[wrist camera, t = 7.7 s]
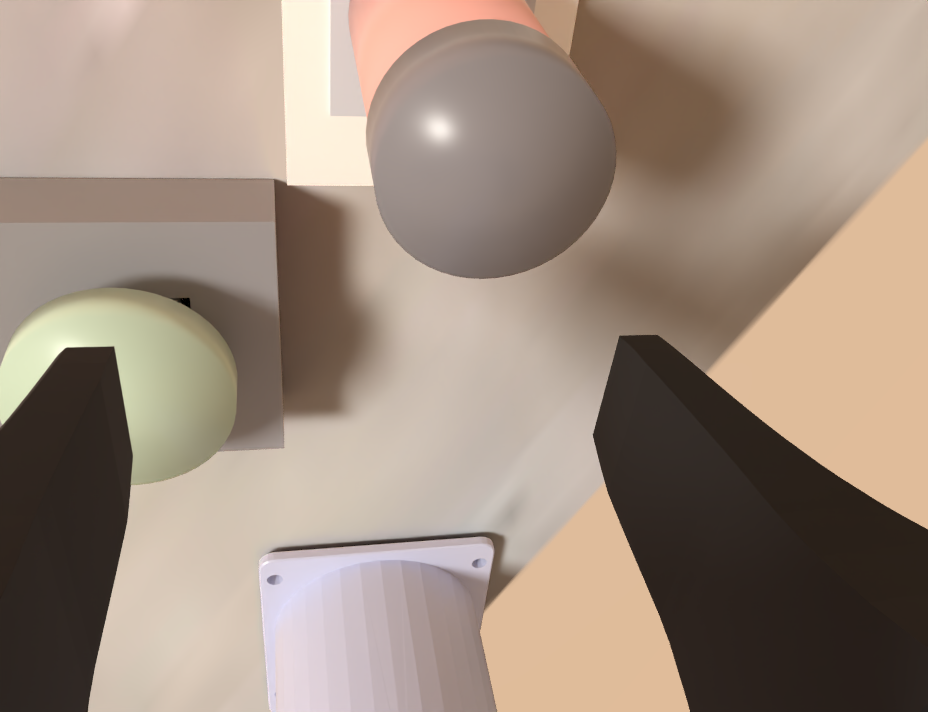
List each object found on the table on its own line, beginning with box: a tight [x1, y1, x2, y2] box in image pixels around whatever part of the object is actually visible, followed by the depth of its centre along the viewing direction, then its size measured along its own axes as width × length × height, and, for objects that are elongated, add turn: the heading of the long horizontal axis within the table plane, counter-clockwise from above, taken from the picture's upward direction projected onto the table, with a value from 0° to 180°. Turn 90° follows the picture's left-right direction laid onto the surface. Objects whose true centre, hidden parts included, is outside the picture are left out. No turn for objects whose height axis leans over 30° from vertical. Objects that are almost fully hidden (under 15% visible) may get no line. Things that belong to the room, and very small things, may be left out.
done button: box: [0, 288, 237, 485], centre depth 21 cm, size 5×5×3 cm
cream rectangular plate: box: [281, 0, 579, 186], centre depth 19 cm, size 8×6×1 cm
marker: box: [348, 0, 616, 279], centre depth 16 cm, size 4×4×7 cm
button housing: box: [0, 178, 284, 452], centre depth 22 cm, size 7×7×2 cm
